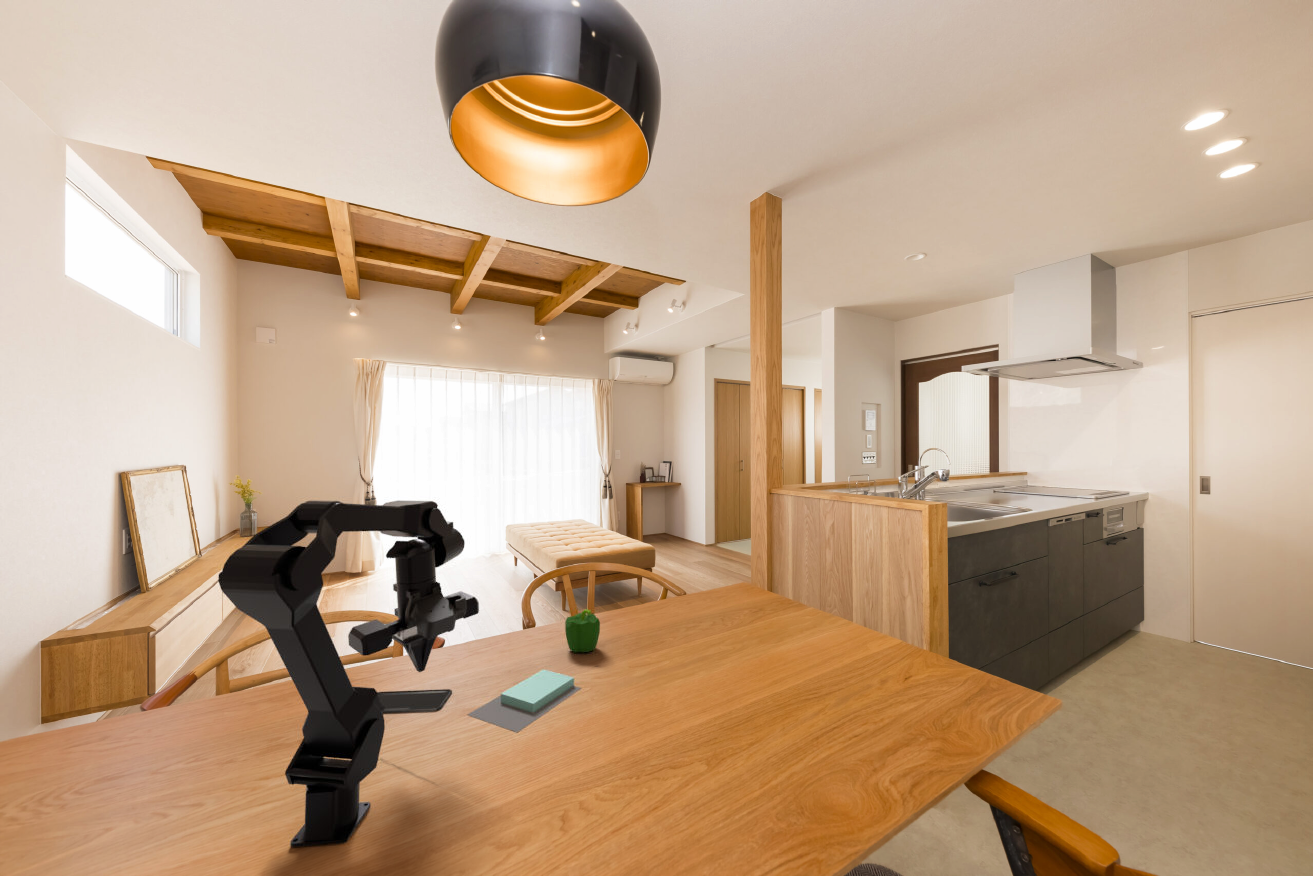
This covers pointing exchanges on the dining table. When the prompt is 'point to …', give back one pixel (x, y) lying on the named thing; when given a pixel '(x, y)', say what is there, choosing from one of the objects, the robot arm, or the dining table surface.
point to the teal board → (537, 690)
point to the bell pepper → (582, 631)
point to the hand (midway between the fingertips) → (420, 670)
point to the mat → (515, 712)
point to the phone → (413, 700)
